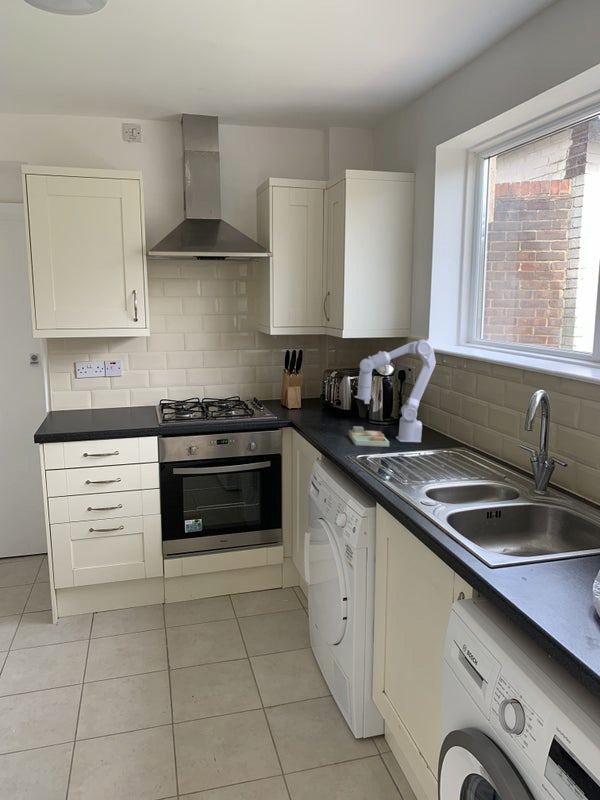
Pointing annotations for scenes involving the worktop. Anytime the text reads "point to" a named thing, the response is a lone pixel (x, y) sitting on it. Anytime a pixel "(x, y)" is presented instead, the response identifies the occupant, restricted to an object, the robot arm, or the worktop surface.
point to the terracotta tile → (377, 438)
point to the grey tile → (358, 429)
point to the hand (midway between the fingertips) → (362, 417)
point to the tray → (369, 441)
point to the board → (366, 433)
